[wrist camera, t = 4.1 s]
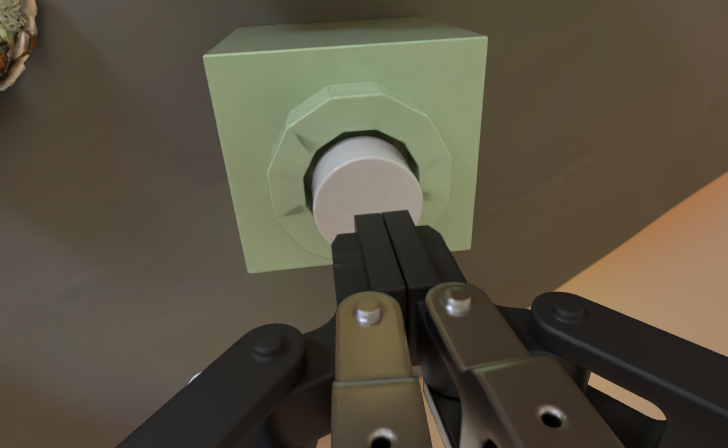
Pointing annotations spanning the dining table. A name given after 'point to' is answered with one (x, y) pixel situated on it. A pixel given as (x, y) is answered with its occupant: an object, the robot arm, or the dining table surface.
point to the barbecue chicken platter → (16, 38)
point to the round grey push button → (361, 184)
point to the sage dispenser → (344, 122)
